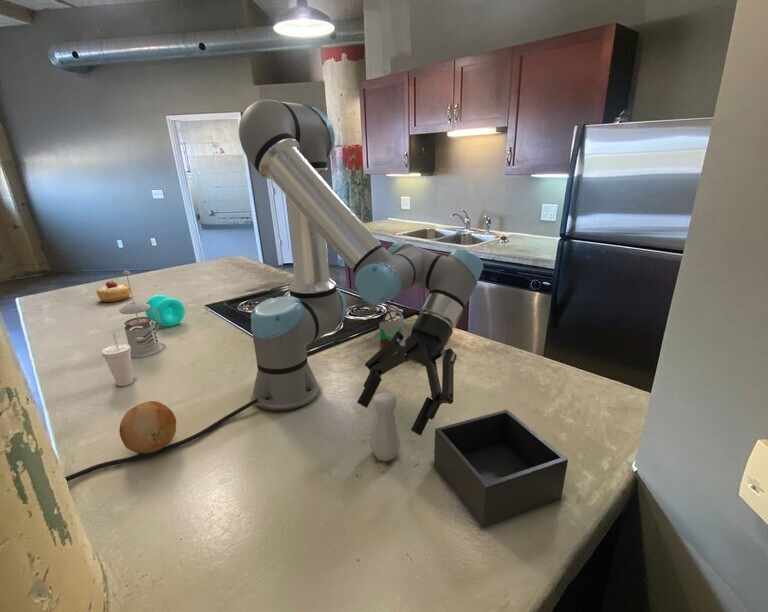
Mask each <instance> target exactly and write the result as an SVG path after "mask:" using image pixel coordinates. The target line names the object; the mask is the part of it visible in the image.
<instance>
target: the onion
mask: <svg viewBox="0 0 768 612" xmlns="http://www.w3.org/2000/svg"><path fill="white" fill-rule="evenodd" d="M176 431H177V418H176V416H175V414H174V412H173V410H172V409H170V408H169V407H168V406H167V405H166V404H164V403H162V402H160V401H156V400H149V401H144V402H141V403H139V404H137V405H135V406H133V407H131V408H129V409H128V410H127V411H126V412H125V413H124V415H123V417H122V419H121V421H120V423H119V437H120V440H121V443H122V444H123V445H124V447H125V448H126V449H128V450H129V451H131V452H134V453H135V454H147V453H153V452H156V451H158V450H160V449H162V448H164V447H165V446H168V445H170V443H171V442H172V440H173V439H174V437H175V435H176Z"/></svg>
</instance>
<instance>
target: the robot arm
mask: <svg viewBox="0 0 768 612" xmlns="http://www.w3.org/2000/svg"><path fill="white" fill-rule="evenodd" d="M238 137H239V142H240V146H241V148H242V151H243V153H244V155H245V156H246V158H247V159H248V161H249V162H250V164H251V165H252V167H254V168H255V170H256V172H258V173H259V174H260V176H262V178H264V179H267V180H269V179H271V180H272V181H273V183H274V184H275V185H276V186H277V187H278V188H279V190H280V191H282V193H283V194H284V197H285V204H286V205H285V206H286V213H287V222H288V223H287V224H288V230H289V240H290V248H291V250H290V251H291V257H292V266H293V276H294V280H293V282H291V284H290V285H289V295H281V296H277V297H275V298H274V297H271V298H268V299H266V300H265V299H264V300H263V301H261V302H260V303H258V304H256V306H254V307H253V309H252V310H251V313H250V321H251V323H250V324H251V325H250V330H251V333H252V340H253V346H254V353H255V358H256V367H257V372H256V377H255V381H254V384H253V385H254V386H253V389H252V390H253V391H252V397H253V400H251V401H249V402H248V403H245V404H244V405H242V406H241V407H239V408H237V409H235V410H234V411H231V412H230V413H229V414H227V415H225V416H223V417H221V418H220V419H218V420H217V421H215V422H213V423H212V424H211V425H209V426H207V427H206V428H203V429H202V430H201V431H199V432H197V433H194V434H192V435H190V436H188V437H186V438H183V439H182V440H179V441H176V442H174V443H171V444H168V445H166V446H165V447H164V448H162V449H160V450H158V451H156V452H153V453H147V454H141V453H138V454H136V455H132V456H128V457H123V458H119V459H118V458H117V459H113V460H109V461H104V462H101V463H98V464H95V465H91V466H89V467H87V468H84V469H82V470H79V471H77V472H74V473H71V474H69V475H67V476H65V477H64V478H66V480H67V482H66V483H69V482H70V481H72V480H75V479H77V478H80V477H82V476H84V475H87V474H90V473H92V472H94V471H95V472H96V471H97V470H101V469H104V468H108V467H111V466H117V465H122V464H127V463H130V462H134V461H138V460H142V459H145V458H149V457H152V456H154V455H158V454H161V453H164V452H168V451H170V450H173V449H176V448H178V447H181V446H183V445H186V444H188V443H190V442H192V441H194V440H196V439H198V438H200V437H202V436H203V435H206V434H207V433H209V432H210V431H212V430H214V429H215V428H217V427H219V426H221V424H223V423H224V422H226V421H228V420H230V419H231V418H233V417H235V416H237V415H238V414H241V412H244V411H245V410H247V409H249V408H251V407H252V406H254V405H256V406H257V407H258V408H260V409H262V410H265V411H271V412H287V411H288V412H289V411H293V410H296V409H299V408H302V407H305V406H306V405H309V403H311V402H312V401H314V399H316V398H317V396H318V393H319V389H318V382H317V379H316V377H315V375H314V373H313V371H312V368H311V367H310V364H309V360H308V351H307V347H308V346H309V345H311V344H312V343H313V342H316V341H317V340H318V339H320V338H322V337H324V336H325V335H328V334H330V333H333V332H334V331H335V330H336V329H337V328H339V326H341V325H342V323H344V320H345V318H346V316H347V302H346V301H347V300H346V298H345V297H344V295H342V292H341V290H339V289H338V288H337V283H336V281H334V280H333V279H332V278H331V277H330V266H329V255H328V254H329V253H328V245H329V246H330V247H331V249H333V251H334V252H335V253H336V254H337V255H338V257H339V258H340V259H341V260H342V261H343V262H344V263H345V264H346V265H347V267H348V268H349V269H350V270H351V271H352V273H353V274H354V275H355V279H354V285H355V288H356V291H357V294H358V296H359V298H361V299H362V300H363V301H364V302H366V303H367V304H371V305H375V306H377V305H382V304H385V303H387V302H389V301H392V300H394V299H396V298H397V297H398V296H399V295H402V293H404V292H405V291H407V290H410V289H411V288H413V287H414V286H419V287H421V288H424V289H425V290H429V291H430V293H429V294H428V296H427V298H426V300H425V302H424V304H423V306H422V307H421V308H420V309H421V310H420V314H418V316H417V317H416V319H415V321H414V323H413V325H412V326H411V331H410V334H409V335H408V336H406V335H405V334H404V335H403V334H402V332H401V333H400V332H396V334H395V335H394V337H393V338H392V340H391V341H390V342H389V343H387V344H386V345H385V346H384V347H383V348H382V349H381V348H380V349H379V350H378V351H377V352H376V353H375V354H374V355H373V356H372V357H371V358H369V359H368V360H367V361H366V362H365V364H364V365H365V367H366V368H367V370H369V374H368V376H367V377H366V379H365V381H364V383H363V390H362V392H361V394H360V395H359V397H358V399H357V401H356V403H357V404H359V405H360V406H362V407H363V408H365V409H368V407H369V405H370V403H371V401H372V400H373V398H374V396H375V395H376V392H377V390H378V388H379V386H380V384H381V382H382V381H383V379H382V375H384V374H386V373H388V372H390V371H391V370H393V369H395V368H396V367H398V366H401V365H402V364H404V363H407V362H411V363H413V364H419V365H420V366H422V367H425V370H426V375H427V379H428V384H429V389H430V394H431V395H430V397H429V396H427V397H426V398H425V400H424V402H423V405H422V406H421V408H420V411H419V413H418V414H417V417H416V419H415V421H414V423H413V425H412V426H411V428H410V432H411V431H412V432H413V433H415V434H416V435H418V436H420V437H421V436H422V435H423V432H424V430H425V428H426V426H427V424H428V423H429V420H431V421H433V419H435V417H436V415H437V412H438V410H439V409H440V406H441V405H442V404H448V405H452V404H453V403H454V388H455V387H454V385H455V384H454V383H455V382H454V380H455V379H454V378H455V377H454V371H455V370H454V369H455V367H454V365H455V362H456V360H457V357H458V355H457V353H455V351H454V350H453V349H452V348H447V349H445V347H446V346H447V345H448V343H449V341H450V340H451V337H452V334H453V333H454V330H453V329H454V328H456V326H457V324H458V322H459V320H460V318H461V316H462V314H463V312H464V310H465V309H466V306H467V304H468V302H469V300H470V299H471V296H472V294H473V292H474V291H475V288H476V287H477V286H478V282H479V279H480V278H481V275H482V272H483V271H484V263H483V260H482V259H481V258H480V257H479V256H478V255H477V254H476V253H474V252H472V251H470V250H467V249H463V248H462V249H460V248H456V249H454V250H453V251H451V252H450V254H449V255H448V256H446V255H441V254H439V253H436V252H433V251H430V250H427V249H424V248H422V247H419V246H416V245H414V244H413V243H407V242H404V241H395V242H393V243H392V244H391V246H389V248H388V249H387V248H385V246H384V245H382V244H381V242H380V241H379V239H377V238H376V236H375V235H374V234H373V233H372V232H371V231H370V229H368V227H366V225H365V224H364V223H363V221H361V219H359V217H358V216H357V215H356V213H354V211H352V209H351V208H350V207H349V206H348V205H347V204H346V202H345V201H343V199H342V198H341V197H340V196H339V195H338V194H337V192H336V191H335V190H334V189H333V187H332V186H330V184H329V183H328V182H327V181H326V180H325V178H324V177H323V175H324V174H325V173H326V172H327V170H328V161H327V160H328V159H329V158H330V156H331V154H332V153H331V152H332V151H334V148H335V142H336V141H335V139H336V138H335V137H336V136H335V132H334V127H333V125H332V123H331V121H330V119H329V118H328V116H327V115H326V114H325V113H324V112H323V111H322V110H320V109H318V108H316V107H314V106H310V105H309V104H305V103H295V102H286V101H279V100H275V99H261V100H258V101H255V102H253V103H251V104H250V105H249V106H248V107H247V108H245V110H244V111H243V113H242V116H241V118H240V120H239V125H238ZM440 358H441V359H442V370H441V379H442V380H441V382H440V377H439V373H438V365H437V361H436V360H438V359H440ZM441 383H442V384H441Z"/></svg>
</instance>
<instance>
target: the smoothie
mask: <svg viewBox="0 0 768 612" xmlns="http://www.w3.org/2000/svg"><path fill="white" fill-rule="evenodd" d="M112 336H113V340H114V345H110V346H108V347H107V346H106V347H105V348H103V349H102V350H101V357H103V358H104V359H105V362H106V364H107V366H108V368H109V371H110V372H111V373H110V374H111V375H112V377H113V379H114V381H115V384H116V385H117V386H118V387H124V386H128V385H131V384H132V383H133V382H134V374H133V365H132V357H131V354H130V351H131V347H130V345H129V344H127V343H119V341H118V336H117V335H116V332H115V331H112Z"/></svg>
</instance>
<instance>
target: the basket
mask: <svg viewBox="0 0 768 612" xmlns="http://www.w3.org/2000/svg"><path fill="white" fill-rule="evenodd" d="M433 451H434V452H433V453H434V457H433V461H434V462H433V465H434V467H435V468H436V470H438V472H439V474H441V476H442V477H443V479H444V480H445V481H446V482H447V484H448V485H449V486H450V487H451V489H452V490H453V492H454V493H455V494H456V496H457V497H458V499H459V500H460V501H461V502H462V504H464V506H465V507H466V509H467V510H468V512H469V513H470V514H471V515H472V517H473V518H474V520H475V521H476V522H477V523H478V524H479V525H478V526H480V528H482V529H484V528H486V527H489V526H492V525H494V524H497V523H499V522H502V521H505V520H508V519H510V518H513V517H515V516H519V515H521V514H524V513H526V512H529V511H532V510H535V509H536V508H540V507H542V506H545V505H547V504H550V503H553V502H556V501H558V500H561V499H562V498H563V497H562V496H563V492H564V491H563V490H564V486H565V480H566V475H567V474H566V473H567V468H568V463H569V459H568V458H567V457H566V456H565V455H563V454H562V453H561V452H560V451H559V450H557V449H556V448H555V447H553V445H551V444H550V443H549V442H548V441H546V440H545V439H544V438H543V437H542V436H540V435H539V434H538V433H536V432H535V431H534V430H533V429H531V428H530V427H529V426H528V425H527V424H525V422H523V421H522V420H521V419H519V417H517V416H516V415H514V414H513V413H512V412H511V411H509V409H503V410H500V411H496V412H492V413H488V414H485V415H481V416H477V417H474V418H470V419H466V420H463V421H459V422H455V423H452V424H448V425H444V426H440V427H437V428H434V450H433Z"/></svg>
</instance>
